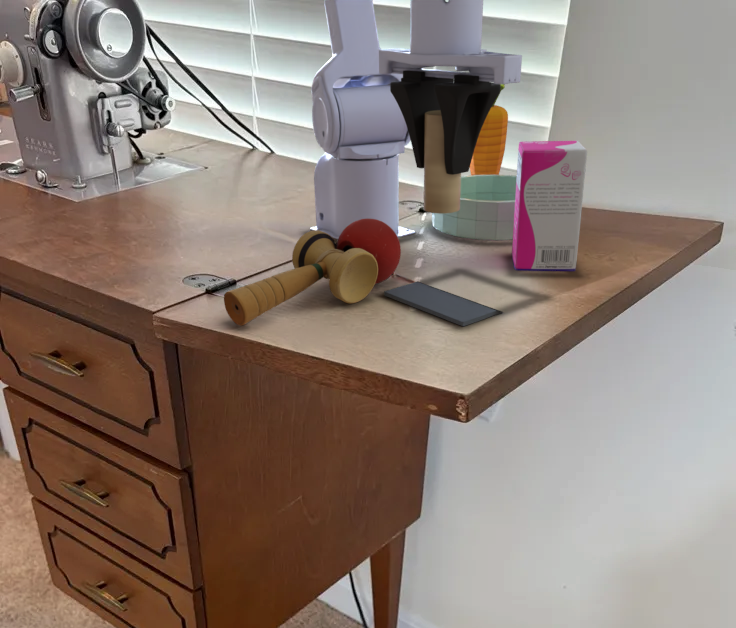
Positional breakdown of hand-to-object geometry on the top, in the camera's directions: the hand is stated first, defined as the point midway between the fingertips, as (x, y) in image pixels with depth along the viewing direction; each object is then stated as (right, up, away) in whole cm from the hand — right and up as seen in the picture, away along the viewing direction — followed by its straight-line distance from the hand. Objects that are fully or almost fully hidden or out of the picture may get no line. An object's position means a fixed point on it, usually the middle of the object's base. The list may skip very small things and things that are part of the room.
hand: (442, 169), depth 68 cm
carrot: (+9, +7, +34) cm, 36 cm away
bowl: (+8, +1, +22) cm, 24 cm away
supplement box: (+11, -7, +10) cm, 16 cm away
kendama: (-11, -11, +3) cm, 16 cm away
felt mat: (+2, -11, +2) cm, 11 cm away
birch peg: (0, -3, +2) cm, 3 cm away
